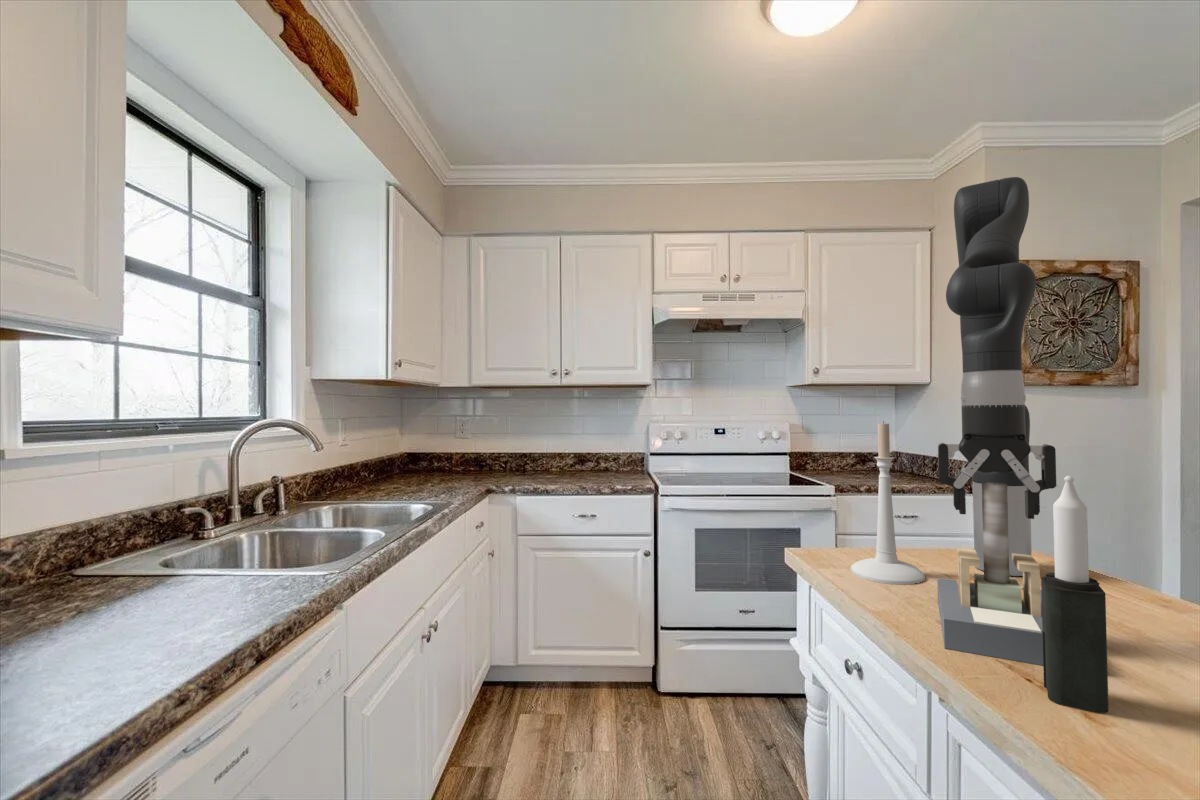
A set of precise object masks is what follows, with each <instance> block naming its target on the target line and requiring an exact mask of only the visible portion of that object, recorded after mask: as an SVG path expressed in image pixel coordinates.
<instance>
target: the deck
mask: <svg viewBox="0 0 1200 800" xmlns="http://www.w3.org/2000/svg"><path fill="white" fill-rule="evenodd" d="M936 581H937V582H936V583H937V588H936V589H937V605H938V613H939V620H940V626H941V631H942V632H941V633H942V639H943V646H944V649H946V650H952V651H958V652H964V653H968V654H976V655H982V656H987V657H992V658H998V659H1003V660H1005V659H1006V660H1010V661H1015V662H1021V663H1027V664H1032V665H1038V664H1039V665H1038V666H1043V632H1042V593H1041V589H1040V599H1041V617H1035V616H1032V615H1031V614H1030V612H1029V611H1028V609H1027V607H1026V605H1025V604H1024V596H1023V587H1022V586H1021V585H1020V587H1021V596H1022V614H1021V613H1014V612H1007V611H999V610H992V609H985V608H978V605H977V602H976V599H975V592H974V580H970V607H963V606H962V605H961V601H960V597H959V591H958V578H956V579H951V578H950V579H949V578H942V577H937V579H936Z"/></svg>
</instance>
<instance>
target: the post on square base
mask: <svg viewBox="0 0 1200 800" xmlns="http://www.w3.org/2000/svg"><path fill="white" fill-rule="evenodd" d="M982 516H983V557H984V571H983V574H981V573H973V581H974V592H975V599H976V602H977V605H978V608H985V609H992V610H999V611H1007V612H1014V613H1021V614H1022V596H1021V588H1022V586H1021V585H1020V584H1019V582H1018V580H1017V579H1016V578H1015V577H1010V575H1009V539H1008V499H1007V484H1002V483H982ZM1020 586H1021V587H1020Z"/></svg>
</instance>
